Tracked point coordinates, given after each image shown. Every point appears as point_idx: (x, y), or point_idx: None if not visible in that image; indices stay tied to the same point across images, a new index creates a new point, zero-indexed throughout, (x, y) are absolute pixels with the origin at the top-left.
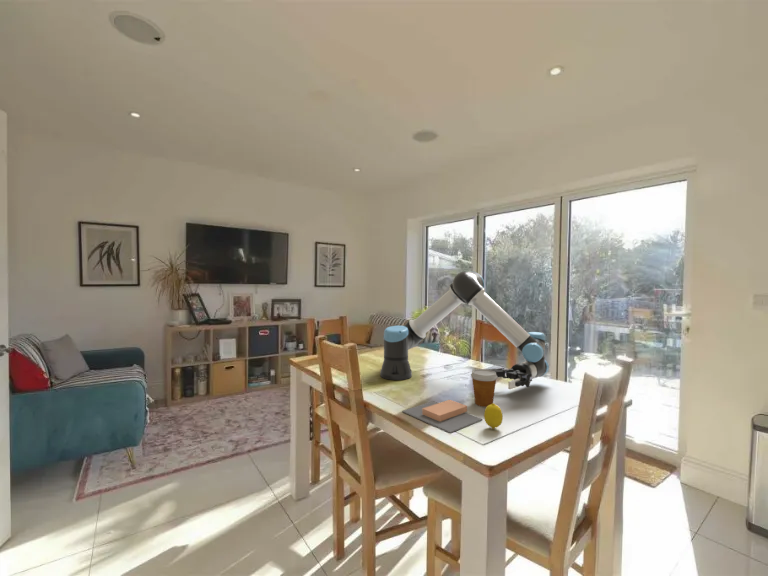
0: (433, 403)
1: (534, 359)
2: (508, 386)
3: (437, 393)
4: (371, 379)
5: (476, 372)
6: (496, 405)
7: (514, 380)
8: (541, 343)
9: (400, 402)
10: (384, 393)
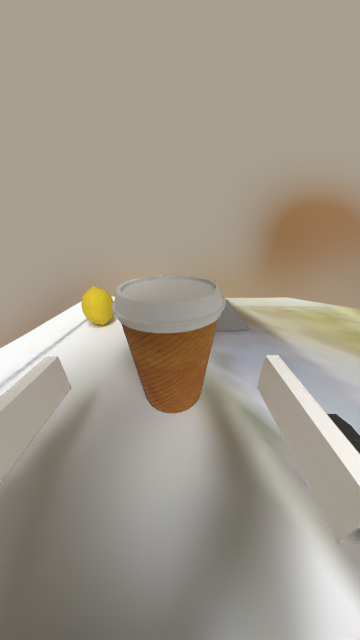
0: (235, 323)
1: None
2: (66, 378)
3: (313, 360)
4: None
5: (195, 284)
6: (89, 290)
7: (1, 398)
8: None
9: (264, 309)
10: (320, 311)
